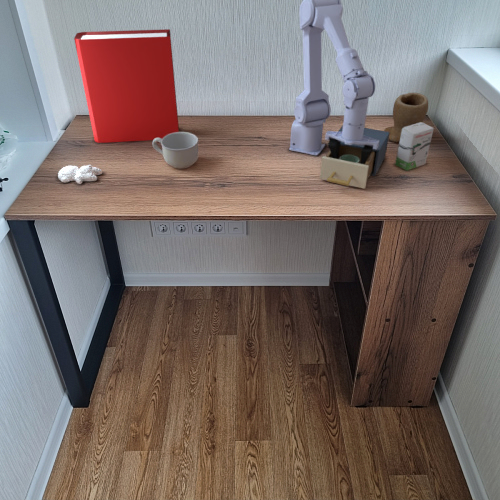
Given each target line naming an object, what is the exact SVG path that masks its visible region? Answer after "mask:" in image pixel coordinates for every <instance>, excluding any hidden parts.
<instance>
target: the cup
mask: <svg viewBox="0 0 500 500" xmlns="http://www.w3.org/2000/svg"><path fill="white" fill-rule="evenodd" d="M339 159H340V160H344V161H349V162H354V163H359V161H360V160H359V158H358V157H357V156H354V155H342V156H340V158H339Z"/></svg>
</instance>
